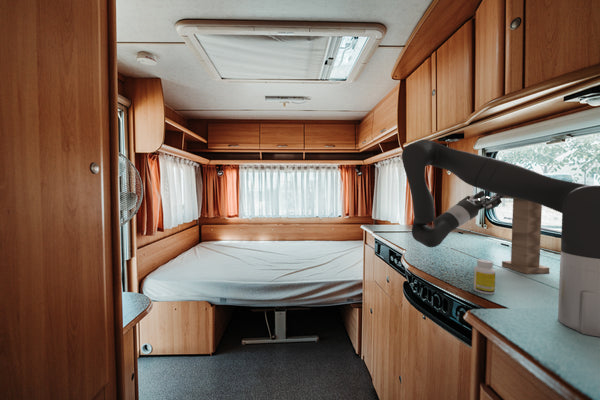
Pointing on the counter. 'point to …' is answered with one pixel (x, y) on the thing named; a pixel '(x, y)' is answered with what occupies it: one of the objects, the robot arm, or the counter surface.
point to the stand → (526, 238)
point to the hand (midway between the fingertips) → (493, 192)
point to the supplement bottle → (484, 277)
